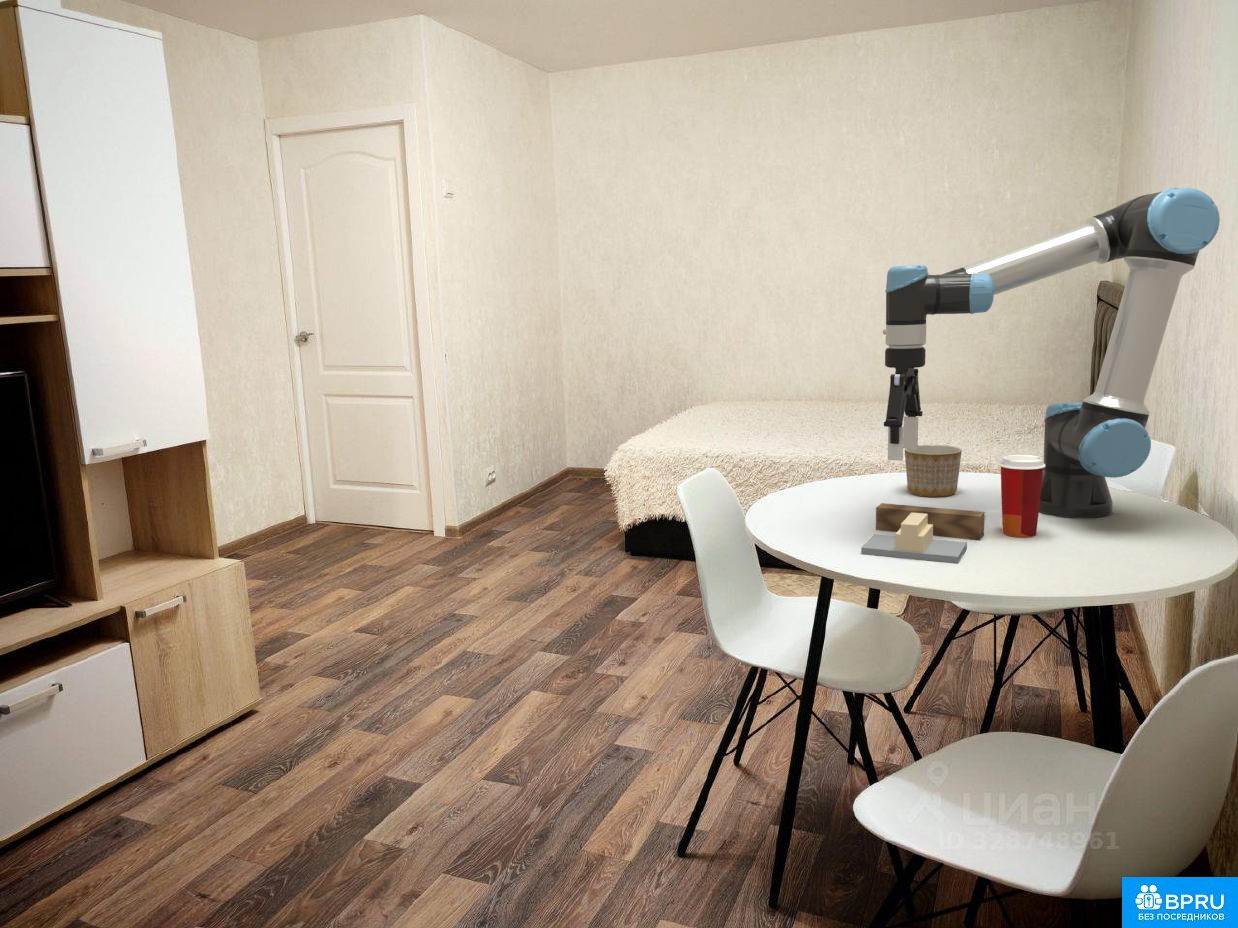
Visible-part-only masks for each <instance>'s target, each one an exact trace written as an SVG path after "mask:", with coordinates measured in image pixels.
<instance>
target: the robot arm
mask: <svg viewBox="0 0 1238 928" xmlns="http://www.w3.org/2000/svg"><path fill="white" fill-rule="evenodd" d="M1220 219H1221V218H1220V212H1219V209H1218V207H1217V205H1216V203H1215V202H1214V200H1213V198H1212V197H1210V196H1209V195H1208V194H1207V193H1205V192H1204V191H1202V190H1199V189H1197V188H1192V187H1181V188H1179V187H1172V188H1168V189H1165V190H1163V191H1159V192H1154V193H1149V194H1148V193H1147V194H1144V195H1141V196H1137V197H1135V198H1133V199H1130V200H1128V201H1126V202H1124V203H1122V204H1120V205H1118V206H1115V207H1114V208H1111V209H1109V210H1105V211H1104V212H1101V213H1099V214H1096V215H1094V216H1091V217H1088V218H1087V219H1086V220H1085V222H1084V223H1083V225H1080V226H1078V227H1075V228H1071V229H1069V230H1068V229H1067V230H1065V231H1062V232H1060V233H1057V234H1054V235H1050V236H1048V237H1046V238H1042V239H1039V240H1037V241H1034V242H1031V243H1028V244H1025V245H1023V246H1022V245H1021V246H1019V247H1017V248H1014V249H1011V250H1008V251H1005V252H1002V253H999V254H996V255H994V256H990V257H988V258H985V259H981V260H979V261H976V262H974V263H971V264H967V265H964V266H962V267H959V268H957V269H953V270H950V271H948V272H945V273H941V274H929V270H928V267H927V266H926V265H925V264H919V265H917V264H916V265H914V264H913V265H911V264H909V265H897V266H896V265H895V266H891V267H890V268H889V269H888V271H887V274H886V287H885V292H884V293H885V329H883V331H882V334H883V335H885V345H886V346H888V347H887V348H886V349H884V366H885V367H887V368H888V369H889V368H891V369H894V370H895V371H894V372H895V373H894V374H892V373H891V374H890V376H889V377H890V381H889V383H890V384H889V391H888V400H887V409H886V416H885V421H884V422H883V427H886V428H887V461H899V462H900V461H901V462H903V461H904V449H905V448H906V449H917V448H918V443H919V442H918V440H919V417H922V416H923V410H922V408H921V398H920V385H919V368H923V367H924V366H925V365H926V348H925V347H924V345H926V344H927V317H928V315H931V316H933V315H957V314H958V315H959V314H961V315H963V314H970V315H973V314H981V313H982V314H983V313H986V312H989V310H990V309H991V307H992V306H993V303H994V296H995V295H999V294H1002V293H1004V292H1007V291H1010V290H1013V289H1015V288H1019V287H1022V286H1025V285H1028V284H1030V283H1034V282H1036V281H1040V280H1043V279H1046V278H1048V277H1052V276H1054V275H1057V274H1061V273H1063V272H1066V271H1069V270H1073V269H1076V268H1078V267H1082V266H1085V265H1087V264H1090V263H1093V262H1096V263H1098V264H1101V265H1103V264H1106V263H1108V262H1109V263H1110V262H1112V261H1116V260H1120V259H1123V261H1124V262H1125V264H1126V265H1127V266H1128V268H1129V271H1128V276H1127V279H1126V282H1125V286H1124V290H1123V293H1122V296H1121V300H1120V303H1119V307H1118V310H1117V313H1116V317H1115V321H1114V324H1113V328H1112V330H1111V335H1110V337H1109V341H1108V345H1107V348H1106V352H1105V355H1104V358H1103V361H1102V366H1101V369H1100V372H1099V376H1098V379H1097V382H1096V383H1097V384H1096V386H1095V389H1094V392H1093V393H1092V394H1091V395H1089V396H1087V397H1085V398H1084V399H1083V401H1082V402H1060V403H1059V402H1056V403H1051V404H1049V405H1048V406H1047V407H1046V409H1045V416H1044V419H1043V421H1044V434H1043V435H1044V437H1043V438H1044V439H1043V441H1044V442H1043V463H1044V464H1045V467H1044V468H1043V477H1042V486H1041V496H1040V505H1039V513H1042V514H1046V515H1050V516H1057V517H1064V518H1077V519H1082V518H1083V519H1084V518H1086V519H1087V518H1100V517H1105V516H1109V515H1111V514H1112V513H1113V505H1114V504H1113V498H1112V495H1111V493H1110V489H1109V485H1108V483H1107V482H1108V481H1107V480H1106V479H1107V478H1113V479H1115V478H1123V477H1125V476H1128V475H1131V474H1132V473H1134V472H1136V471H1137V470H1138V469H1140V468H1141V467H1142V466H1143V464H1144V463H1145V462H1146V461H1147V459H1148V458H1149V456H1150V453H1151V450H1152V449H1151V448H1152V440H1151V436H1150V434H1149V433H1148V431H1147V429H1146V427H1147V423H1148V420H1149V416H1150V414H1151V413H1150V411H1149V409H1148V407H1146V405H1145V398H1146V396H1147V392H1148V389H1149V385H1150V383H1151V378H1152V375H1153V372H1154V368H1155V365H1156V363H1157V360H1158V359H1157V358H1158V356H1159V353H1160V349H1161V346H1162V343H1163V339H1164V336H1165V334H1166V329H1167V326H1168V323H1169V319H1170V316H1171V312H1172V310H1173V306H1174V303H1175V299H1176V296H1177V292H1178V290H1179V286H1180V282H1181V279H1182V278H1183V276H1184V275H1186V274H1188V273H1189V272H1191V271H1192V270H1194V268H1195V266H1196V262H1197V259H1198V256H1199V253H1200V251H1201V250H1204V248H1205V247H1207V246H1208V245H1209V244H1210V243H1211V242H1212V241H1213V239H1214V238H1215V237H1216V235H1217V233H1218V230H1219V228H1220Z"/></svg>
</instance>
